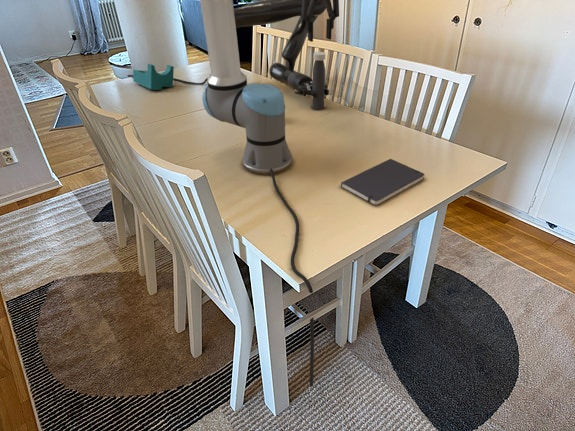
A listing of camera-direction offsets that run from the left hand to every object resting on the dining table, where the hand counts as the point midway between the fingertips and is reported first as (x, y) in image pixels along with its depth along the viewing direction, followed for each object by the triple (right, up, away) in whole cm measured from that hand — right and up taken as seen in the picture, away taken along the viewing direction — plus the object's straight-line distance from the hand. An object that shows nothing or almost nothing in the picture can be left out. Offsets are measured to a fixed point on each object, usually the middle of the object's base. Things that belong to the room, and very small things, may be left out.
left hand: (322, 94), depth 158 cm
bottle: (-1, -4, +6) cm, 7 cm away
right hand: (-2, +17, -10) cm, 20 cm away
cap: (-2, +13, -7) cm, 15 cm away
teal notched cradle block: (-76, +15, +34) cm, 85 cm away
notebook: (+14, -38, -43) cm, 59 cm away
